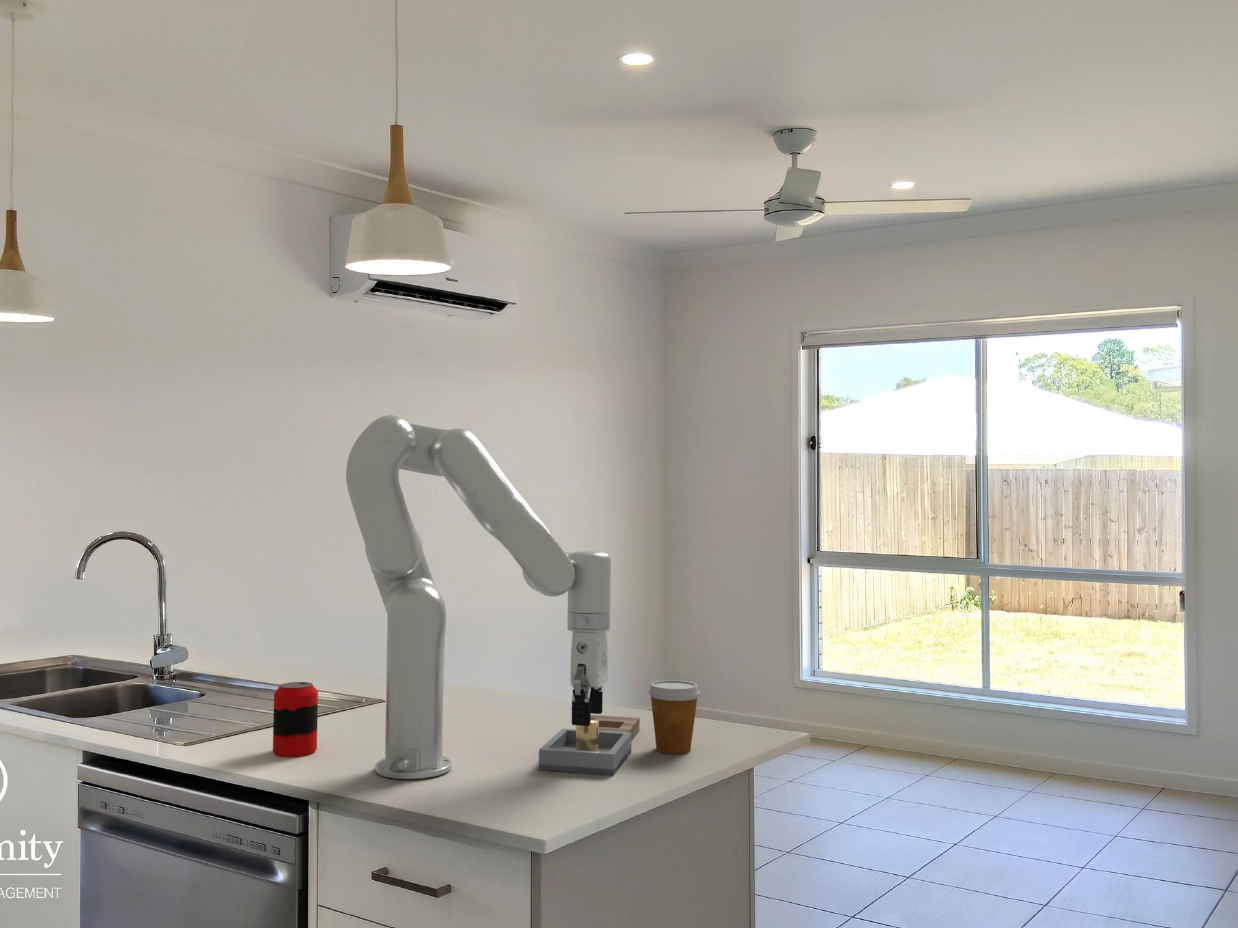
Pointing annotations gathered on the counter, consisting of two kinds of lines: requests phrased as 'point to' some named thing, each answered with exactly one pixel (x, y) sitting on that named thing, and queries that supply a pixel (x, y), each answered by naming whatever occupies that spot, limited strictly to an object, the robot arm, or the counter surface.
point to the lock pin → (588, 736)
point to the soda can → (295, 719)
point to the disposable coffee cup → (673, 714)
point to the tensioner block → (618, 724)
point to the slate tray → (585, 753)
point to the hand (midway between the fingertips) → (587, 718)
